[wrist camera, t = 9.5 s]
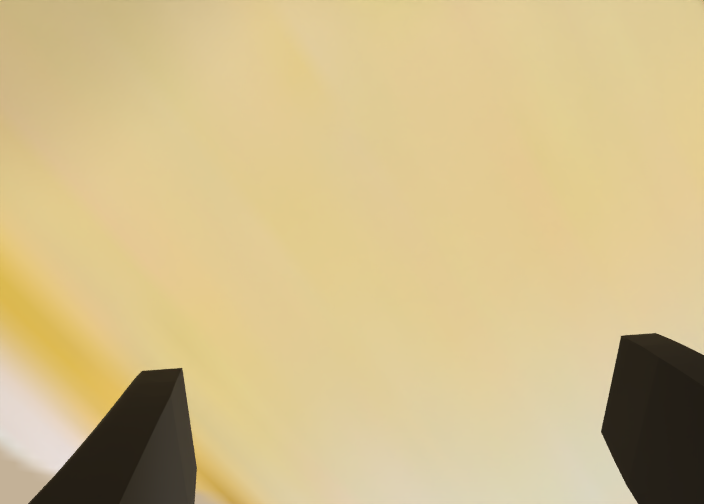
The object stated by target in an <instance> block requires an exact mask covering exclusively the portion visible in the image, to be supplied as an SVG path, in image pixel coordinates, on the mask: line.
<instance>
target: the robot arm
mask: <svg viewBox="0 0 704 504" xmlns="http://www.w3.org/2000/svg"><path fill="white" fill-rule="evenodd" d="M601 432H602V435H603V437H604V439H605V441H606V443H607V446H608V448H609V450H610V452H611V454H612V457H613V459H614V461H615V463H616V465H617V467H618V469H619V471H620V473H621V475H622V477H623V479H624V481H625V483H626V485H627V487H628V488H629V490H630V491H631V493H632V495H633V496H634V498H635V499H636V501H637V502H638V504H704V355H702V354H700V353H698V352H696V351H694V350H692V349H690V348H688V347H686V346H684V345H682V344H680V343H678V342H675V341H673V340H671V339H669V338H666V337H664V336H661V335H659V334H656V333H652V334H639V335H625V336H621V340H620V345H619V349H618V354H617V359H616V364H615V368H614V373H613V378H612V383H611V387H610V392H609V397H608V402H607V406H606V411H605V416H604V420H603V425H602V430H601ZM196 472H197V467H196V460H195V453H194V446H193V439H192V432H191V425H190V418H189V411H188V405H187V398H186V391H185V384H184V377H183V370H182V368H177V369H163V370H149V371H142V372H141V373H140V374H139V375H138V376H137V377H136V378H135V379H134V380H133V382H132V383H131V384H130V385H129V387H128V388H127V389H126V390H125V392H124V393H123V394H122V396H121V397H120V398H119V399H118V401H117V402H116V403H115V404H114V406H113V407H112V408H111V409H110V411H109V412H108V413H107V414H106V416H105V417H104V418H103V419H102V421H101V422H100V423H99V424H98V426H97V427H96V428H95V429H94V430H93V432H92V433H91V434H90V435H89V436H88V438H87V439H86V440H85V441H84V442H83V443H82V445H81V446H80V447H79V448H78V449H77V450H76V452H75V453H74V454H73V455H72V456H71V457H70V459H69V460H68V461H67V462H66V463H65V464H64V466H63V467H62V468H61V469H60V470H59V471H58V472H57V473H56V475H55V476H54V477H53V478H52V479H51V480H50V481H49V482H48V483H47V484H46V486H44V487H43V489H42V490H41V491H40V492H39V493H38V494H37V495H36V496H35V497H34V498H33V499H32V500H31V501H30V502H29V503H28V504H194V501H195V486H196Z"/></svg>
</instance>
